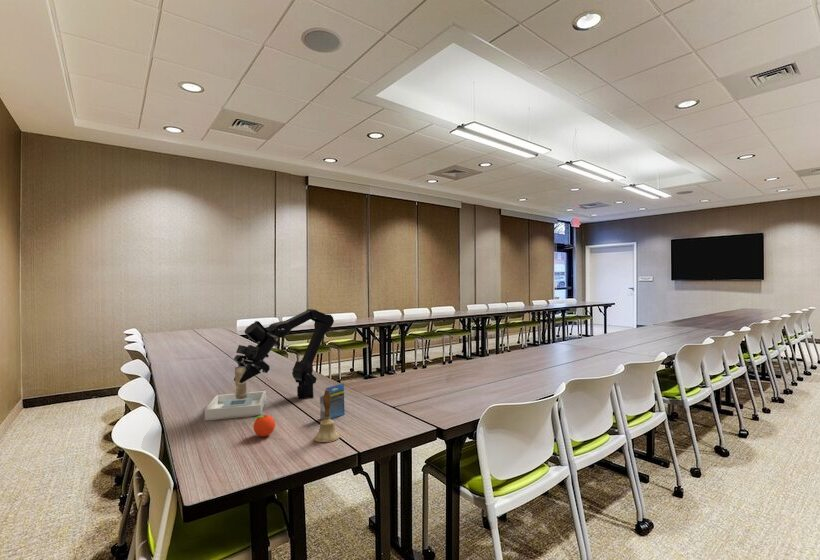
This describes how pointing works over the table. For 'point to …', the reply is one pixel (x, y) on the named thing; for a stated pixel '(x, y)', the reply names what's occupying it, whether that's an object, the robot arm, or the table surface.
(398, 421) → the table surface
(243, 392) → the peg
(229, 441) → the table surface
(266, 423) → the clementine
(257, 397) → the tray
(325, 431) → the hand bell
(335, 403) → the label tape cartridge
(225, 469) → the table surface
